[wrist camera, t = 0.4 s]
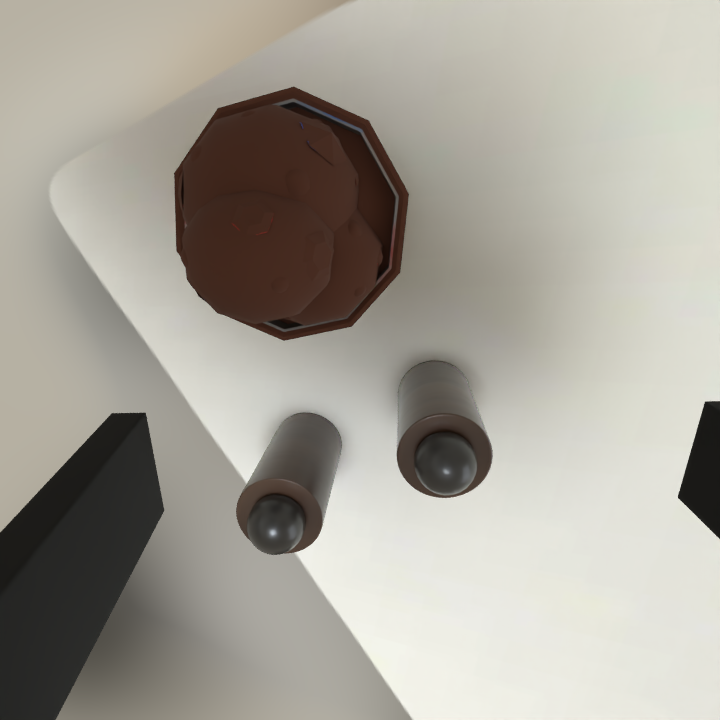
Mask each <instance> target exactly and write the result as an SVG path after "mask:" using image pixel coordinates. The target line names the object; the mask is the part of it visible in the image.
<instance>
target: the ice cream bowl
mask: <svg viewBox="0 0 720 720" xmlns="http://www.w3.org/2000/svg"><path fill="white" fill-rule="evenodd" d="M174 179H175V213H176V247H177V252H178V254H179V255H180V256H181V260H182V262H183V264H184V266H185V267H186V276H187V280H188V282H189V283H190V285H191V286H192V287H193V288H194V289H195V291H196V292H197V294H198V296H199V297H200V298H202V299H203V300H204V301H206V302H207V303H208V304H209V305H210V306H211V307H212V308H213V309H214V310H215V311H216V312H217V313H219V314H222V315H225V316H228V317H230V318H232V319H235V320H237V321H239V322H242V323H244V324H246V325H249V326H251V327H253V328H256V329H258V330H260V331H263V332H265V333H267V334H270V335H272V336H274V337H277V338H279V339H281V340H289V339H294V338H299V337H304V336H309V335H313V334H318V333H323V332H328V331H333V330H337V329H342V328H347V327H352V326H353V325H354V323H355V322H356V321H357V320H358V319H359V318H360V317H361V316H362V314H363V313H364V312H365V311H366V310H367V309H368V308H369V307H370V306H371V304H372V303H373V302H374V301H375V300H376V299H377V298H378V297H379V295H380V294H381V293H382V292H383V291H384V290H385V289H386V288H387V287H388V285H389V284H390V283H391V282H392V281H393V280H394V279H395V278H396V277H397V275H398V274H399V273H400V269H401V260H402V250H403V241H404V232H405V223H406V214H407V205H408V196H409V194H408V192H407V190H406V188H405V186H404V184H403V183H402V181H401V179H400V177H399V175H398V173H397V172H396V170H395V168H394V166H393V164H392V162H391V161H390V159H389V157H388V155H387V153H386V151H385V150H384V148H383V146H382V144H381V142H380V140H379V139H378V137H377V135H376V133H375V131H374V129H373V128H372V126H371V124H370V122H369V121H368V120H366V119H364V118H362V117H359V116H357V115H355V114H353V113H351V112H348V111H346V110H344V109H342V108H340V107H337V106H335V105H333V104H331V103H329V102H326V101H324V100H322V99H320V98H318V97H315V96H313V95H311V94H309V93H307V92H304V91H302V90H300V89H298V88H296V87H291V88H288V89H284V90H281V91H277V92H274V93H270V94H267V95H263V96H260V97H256V98H253V99H249V100H246V101H242V102H239V103H235V104H232V105H228V106H225V107H221V108H218V109H217V111H216V112H215V114H214V115H213V117H212V118H211V120H210V121H209V122H208V124H207V125H206V127H205V128H204V130H203V131H202V133H201V134H200V136H199V137H198V139H197V140H196V142H195V143H194V145H193V146H192V148H191V149H190V151H189V152H188V154H187V155H186V157H185V158H184V160H183V161H182V163H181V164H180V166H179V167H178V168H177V170H176V171H175V173H174Z"/></svg>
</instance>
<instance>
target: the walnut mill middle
mask: <svg viewBox="0 0 720 720" xmlns="http://www.w3.org/2000/svg"><path fill="white" fill-rule="evenodd" d="M492 457H493V455H492V446H491V443H490V440H489V437H488V435H487V432H486V429H485V427H484V424H483V421H482V418H481V416H480V413H479V410H478V408H477V405H476V402H475V400H474V397H473V394H472V392H471V389H470V386H469V384H468V381H467V379H466V377H465V376H464V375H463V373H462V372H461V371H460V370H459V369H457V368H456V367H454V366H453V365H451V364H448V363H445V362H441V361H429V362H424V363H421V364H419V365H417V366H415V367H413V368H412V369H411V370H409V371H408V372H407V373H406V375H405V376H404V377H403V379H402V381H401V383H400V386H399V391H398V427H397V462H398V466H399V469H400V472H401V474H402V475H403V477H404V478H405V480H406V481H407V482H408V483H409V484H410V485H411V486H412V487H414V488H415V489H416V490H418V491H420V492H422V493H424V494H426V495H429V496H433V497H439V498H450V497H456V496H460V495H463V494H465V493H468V492H469V491H471V490H473V489H474V488H476V487H477V486H478V485H479V484H480V483H481V482H482V481H483V480H484V479H485V477H486V475H487V474H488V472H489V470H490V467H491V464H492Z"/></svg>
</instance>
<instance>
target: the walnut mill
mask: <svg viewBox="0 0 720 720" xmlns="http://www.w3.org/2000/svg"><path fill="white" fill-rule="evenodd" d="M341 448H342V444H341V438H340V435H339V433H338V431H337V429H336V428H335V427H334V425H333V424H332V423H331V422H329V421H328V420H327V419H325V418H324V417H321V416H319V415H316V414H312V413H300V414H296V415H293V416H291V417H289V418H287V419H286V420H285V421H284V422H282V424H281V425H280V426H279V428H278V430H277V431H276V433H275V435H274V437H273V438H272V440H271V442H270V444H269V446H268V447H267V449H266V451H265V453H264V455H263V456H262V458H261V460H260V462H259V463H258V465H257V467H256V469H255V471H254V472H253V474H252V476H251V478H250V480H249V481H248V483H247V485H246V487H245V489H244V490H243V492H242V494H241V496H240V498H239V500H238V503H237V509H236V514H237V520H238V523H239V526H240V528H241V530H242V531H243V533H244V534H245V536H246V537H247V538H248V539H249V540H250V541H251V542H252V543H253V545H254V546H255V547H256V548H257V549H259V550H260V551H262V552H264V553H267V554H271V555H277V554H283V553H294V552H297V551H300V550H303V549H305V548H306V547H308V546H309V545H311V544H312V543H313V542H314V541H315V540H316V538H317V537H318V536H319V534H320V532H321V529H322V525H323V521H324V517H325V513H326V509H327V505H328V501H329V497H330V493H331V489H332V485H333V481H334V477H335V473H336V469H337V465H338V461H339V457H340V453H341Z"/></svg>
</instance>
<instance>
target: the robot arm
mask: <svg viewBox="0 0 720 720" xmlns="http://www.w3.org/2000/svg"><path fill="white" fill-rule="evenodd" d="M678 498H679V499H680V500H681V501H682V502H683V503H684V504H685V505H686V506H687V507H688V508H689V509H690V510H691V511H692V512H693V513H694V514H695V515H696V516H697V517H698V518H699V519H700V520H701V521H702V522H703V523H704V524H705V525H706V526H707V527H708V528H709V529H710V530H711V531H712V532H713V533H714V534H715V535H716V536H717V537H718V538H719V539H720V401H710V402H705V404H704V407H703V411H702V414H701V418H700V421H699V425H698V428H697V432H696V435H695V439H694V442H693V446H692V449H691V453H690V456H689V460H688V463H687V467H686V470H685V474H684V477H683V481H682V484H681V488H680V491H679V495H678ZM163 512H164V507H163V502H162V497H161V491H160V486H159V481H158V476H157V470H156V465H155V460H154V454H153V449H152V444H151V438H150V433H149V428H148V422H147V417H146V413H112V414H111V415H110V416H109V417H108V418H107V419H106V420H105V421H104V422H103V423H102V425H101V426H100V427H99V428H98V429H97V430H96V431H95V432H94V433H93V434H92V435H91V436H90V437H89V438H88V439H87V441H86V442H85V443H84V444H83V445H82V446H81V447H80V448H79V449H78V450H77V451H76V452H75V453H74V454H73V456H72V457H71V458H70V459H69V460H68V461H67V462H66V463H65V464H64V465H63V466H62V467H61V468H60V469H59V470H58V472H57V473H56V474H55V475H54V476H53V477H52V478H51V479H50V480H49V481H48V482H47V483H46V484H45V485H44V486H43V488H42V489H41V490H40V491H39V492H38V493H37V494H36V495H35V496H34V497H33V498H32V499H31V500H30V501H29V503H28V504H27V505H26V506H25V507H24V508H23V509H22V510H21V511H20V512H19V513H18V515H17V516H16V517H14V519H13V520H12V521H11V522H10V523H9V524H8V525H7V526H6V527H5V528H4V529H3V530H2V531H1V532H0V720H55V719H56V718H57V716H58V714H59V712H60V710H61V708H62V706H63V704H64V702H65V700H66V699H67V696H68V695H69V693H70V691H71V689H72V687H73V685H74V683H75V681H76V679H77V677H78V675H79V673H80V671H81V670H82V668H83V666H84V664H85V662H86V660H87V658H88V656H89V654H90V652H91V650H92V649H93V646H94V644H95V643H96V641H97V639H98V637H99V635H100V633H101V631H102V629H103V627H104V625H105V623H106V622H107V620H108V618H109V616H110V614H111V612H112V610H113V608H114V606H115V604H116V602H117V600H118V598H119V597H120V595H121V593H122V591H123V589H124V587H125V585H126V583H127V581H128V579H129V577H130V575H131V573H132V572H133V569H134V568H135V565H136V564H137V562H138V560H139V558H140V556H141V554H142V552H143V550H144V548H145V547H146V544H147V543H148V541H149V539H150V537H151V535H152V533H153V531H154V529H155V527H156V525H157V523H158V521H159V520H160V518H161V516H162V514H163Z"/></svg>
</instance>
